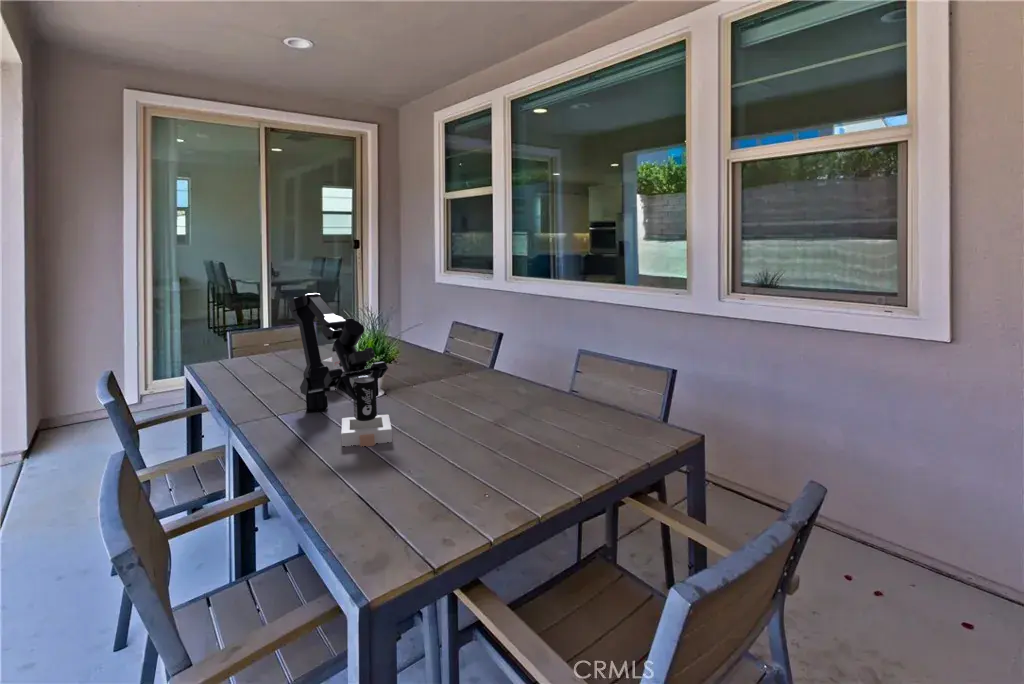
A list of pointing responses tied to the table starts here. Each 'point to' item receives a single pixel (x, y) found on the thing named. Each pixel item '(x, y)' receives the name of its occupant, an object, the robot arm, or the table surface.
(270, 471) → the table surface
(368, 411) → the beverage can
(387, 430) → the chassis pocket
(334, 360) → the ink cartridge box
